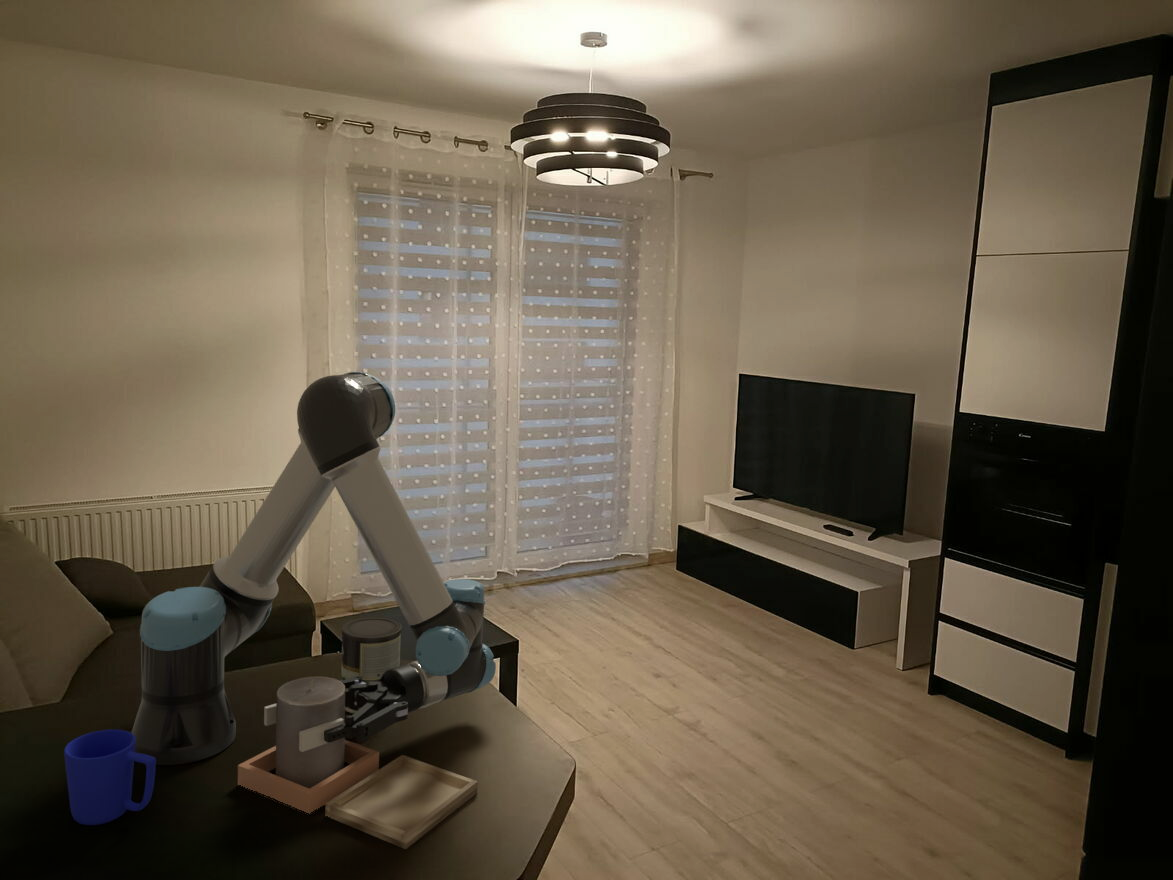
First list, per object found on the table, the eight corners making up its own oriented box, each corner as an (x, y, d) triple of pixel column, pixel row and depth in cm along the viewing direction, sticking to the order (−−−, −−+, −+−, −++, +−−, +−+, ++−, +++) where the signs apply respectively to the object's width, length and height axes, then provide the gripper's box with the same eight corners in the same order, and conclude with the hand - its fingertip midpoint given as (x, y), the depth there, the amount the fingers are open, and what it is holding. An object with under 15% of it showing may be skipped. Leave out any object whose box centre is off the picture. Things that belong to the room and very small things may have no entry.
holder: (237, 784, 120) (237, 765, 120) (310, 745, 133) (311, 727, 132) (308, 814, 114) (309, 794, 114) (378, 770, 126) (379, 751, 126)
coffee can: (329, 711, 145) (331, 633, 143) (354, 687, 155) (356, 614, 153) (386, 718, 143) (389, 639, 142) (407, 693, 153) (410, 620, 152)
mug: (130, 842, 106) (130, 768, 105) (50, 826, 108) (48, 753, 107) (174, 807, 114) (174, 738, 113) (98, 793, 116) (97, 725, 115)
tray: (325, 815, 114) (325, 803, 114) (401, 765, 128) (402, 754, 128) (405, 849, 108) (406, 836, 107) (477, 793, 122) (477, 781, 122)
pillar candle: (290, 758, 128) (290, 665, 126) (353, 762, 128) (354, 669, 126) (264, 793, 119) (264, 693, 117) (332, 798, 119) (333, 698, 116)
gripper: (454, 733, 129) (322, 784, 112) (373, 686, 143) (246, 726, 127) (456, 686, 128) (323, 731, 111) (374, 644, 142) (246, 679, 126)
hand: (282, 728), depth 119 cm, fingers closed on pillar candle, 9 cm apart
